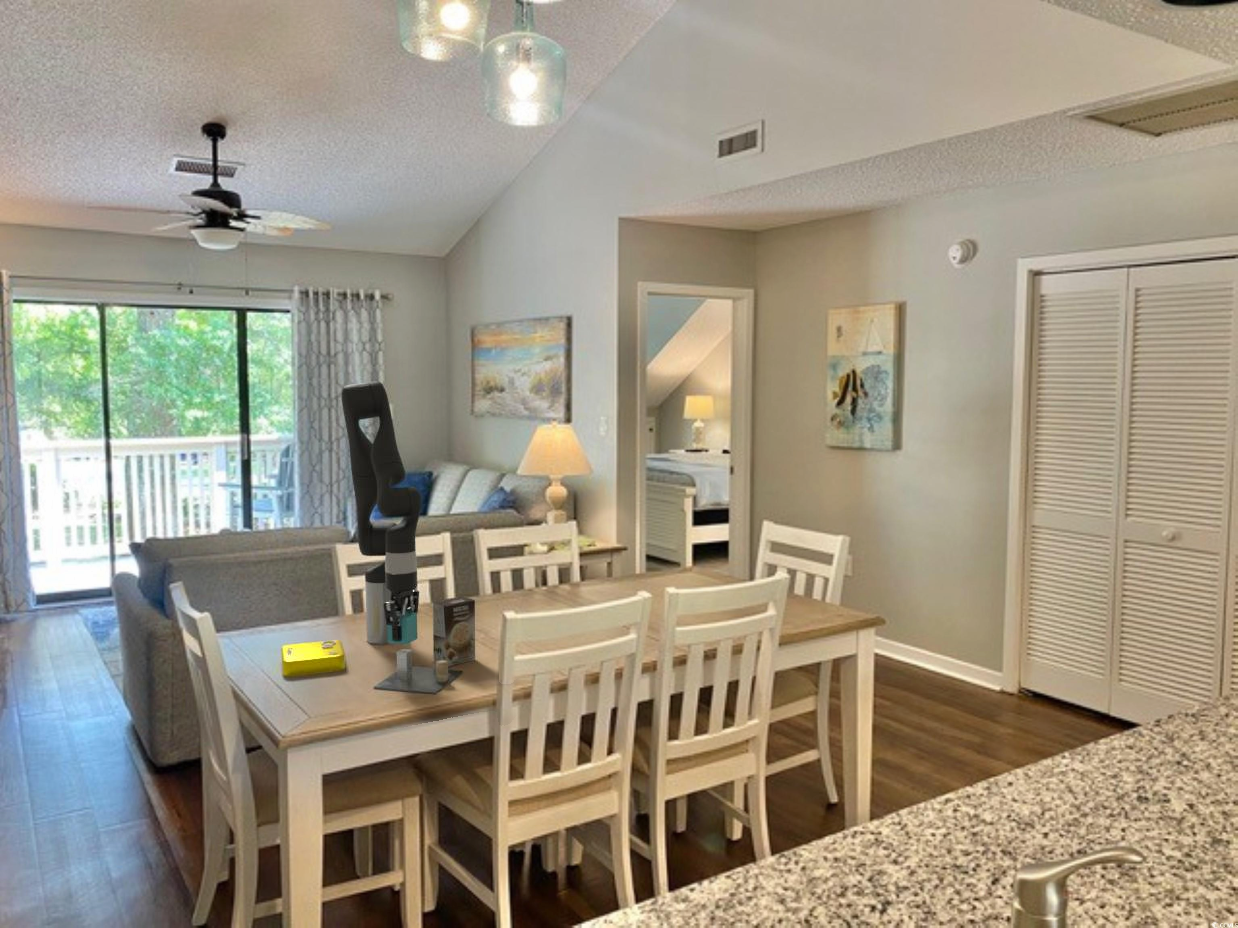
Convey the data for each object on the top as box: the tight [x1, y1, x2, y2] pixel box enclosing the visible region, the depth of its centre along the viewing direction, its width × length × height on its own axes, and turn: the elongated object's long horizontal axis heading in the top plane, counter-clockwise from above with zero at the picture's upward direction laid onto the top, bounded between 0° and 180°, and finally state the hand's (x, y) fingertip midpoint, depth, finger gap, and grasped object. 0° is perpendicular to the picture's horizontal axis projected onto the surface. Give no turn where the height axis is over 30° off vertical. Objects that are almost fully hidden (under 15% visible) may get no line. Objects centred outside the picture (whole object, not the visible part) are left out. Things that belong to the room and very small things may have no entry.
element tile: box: [280, 639, 346, 678], centre depth 235 cm, size 15×15×5 cm
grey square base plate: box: [373, 648, 464, 695], centre depth 223 cm, size 16×16×7 cm
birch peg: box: [435, 661, 449, 683], centre depth 222 cm, size 3×3×5 cm
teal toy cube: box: [387, 611, 418, 646], centre depth 223 cm, size 5×5×7 cm
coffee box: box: [432, 596, 476, 667], centre depth 237 cm, size 9×6×16 cm
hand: (402, 637), depth 223 cm, fingers closed on teal toy cube, 5 cm apart
